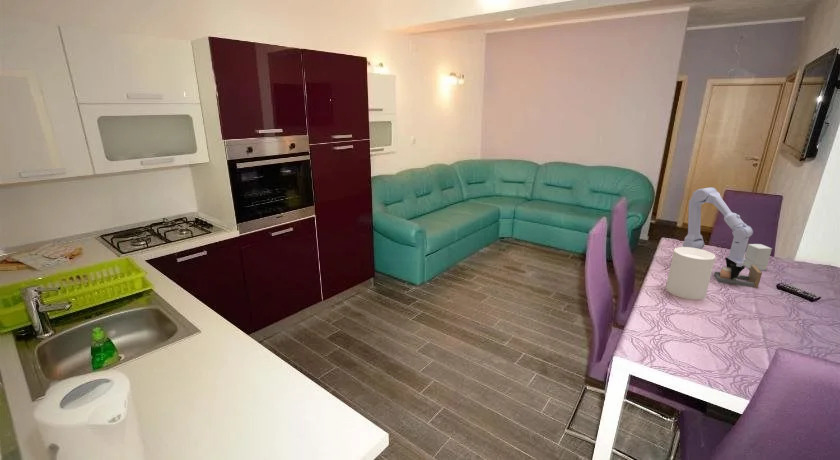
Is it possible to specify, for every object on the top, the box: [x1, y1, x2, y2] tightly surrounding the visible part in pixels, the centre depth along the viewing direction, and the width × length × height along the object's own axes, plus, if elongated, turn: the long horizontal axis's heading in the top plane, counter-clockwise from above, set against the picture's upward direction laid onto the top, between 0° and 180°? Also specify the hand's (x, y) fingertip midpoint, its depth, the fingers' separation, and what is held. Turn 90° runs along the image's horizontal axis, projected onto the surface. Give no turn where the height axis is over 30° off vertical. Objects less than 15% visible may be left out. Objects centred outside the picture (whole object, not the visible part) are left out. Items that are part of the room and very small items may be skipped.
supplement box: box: [742, 243, 773, 271], centre depth 208 cm, size 7×7×13 cm
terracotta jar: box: [719, 266, 732, 279], centre depth 195 cm, size 5×5×6 cm
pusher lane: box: [713, 265, 763, 289], centre depth 193 cm, size 16×10×8 cm, turn 65°
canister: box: [665, 246, 716, 301], centre depth 180 cm, size 16×16×20 cm
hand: (731, 274), depth 194 cm, fingers open, 7 cm apart
